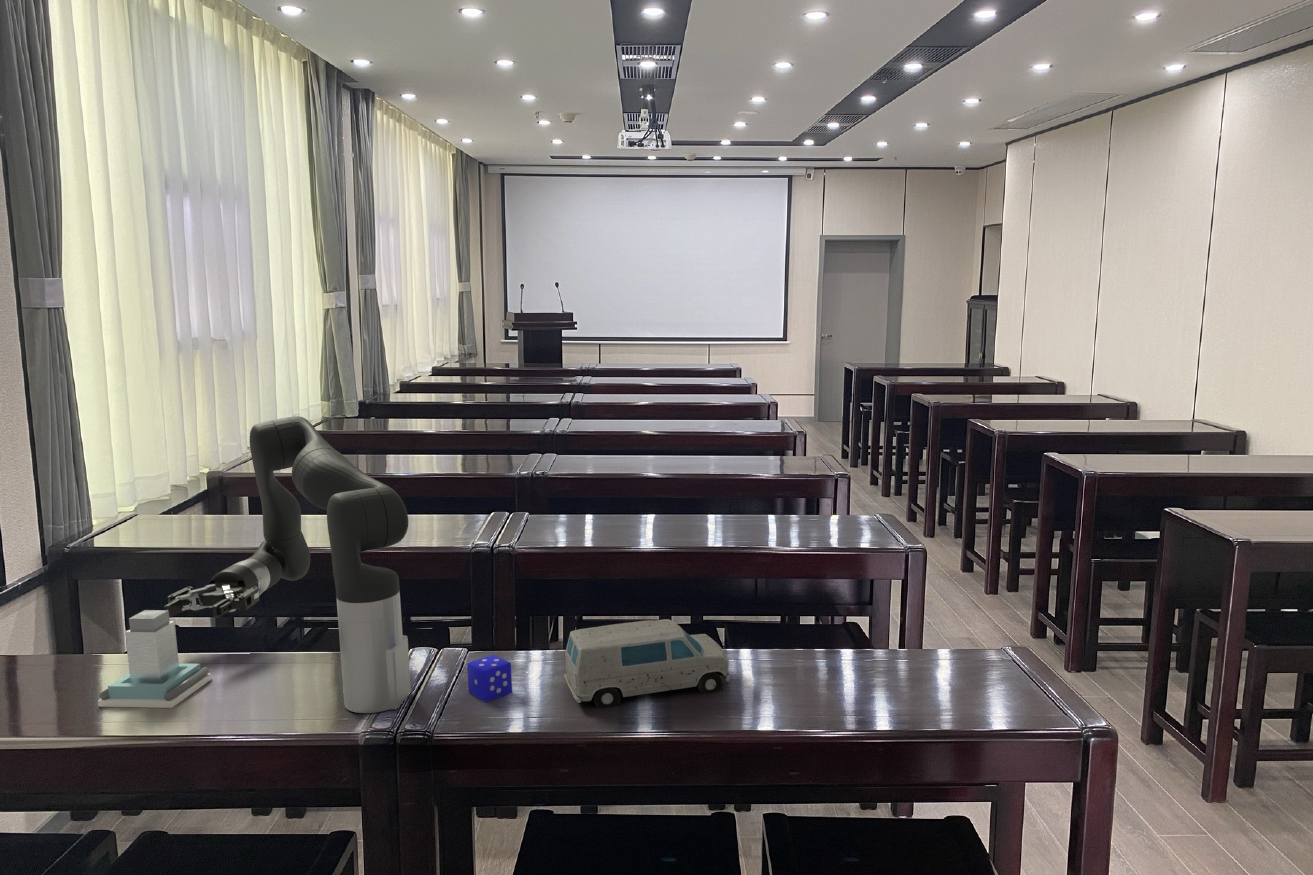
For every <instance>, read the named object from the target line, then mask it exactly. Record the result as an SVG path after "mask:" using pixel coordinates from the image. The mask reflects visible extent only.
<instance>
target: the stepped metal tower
mask: <svg viewBox="0 0 1313 875" xmlns="http://www.w3.org/2000/svg"><path fill="white" fill-rule="evenodd" d="M128 623H129V629H128V630H126V631H124V635H125V643H126V644H125V645H126V652H127V660H128V661H127V662H128V669H129V672H128V673H130V681H131V683H139V684H163V683H165V682H166V681H168V680H169V679H171V678H172V677H174V676H175V675H176V674H178V673H179V672H180V670H179V654H178V644H177V634H176V632H177V631H176V625H175V624H176V623H175V621H173V620H170V617H169V611H168V610H161V609H160V610H159V609H158V610H155V609H151V610H150V609H145V610H142V611H140V612H138V613H137V614H135V615H133V616H131V617H129V618H128Z"/></svg>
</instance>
